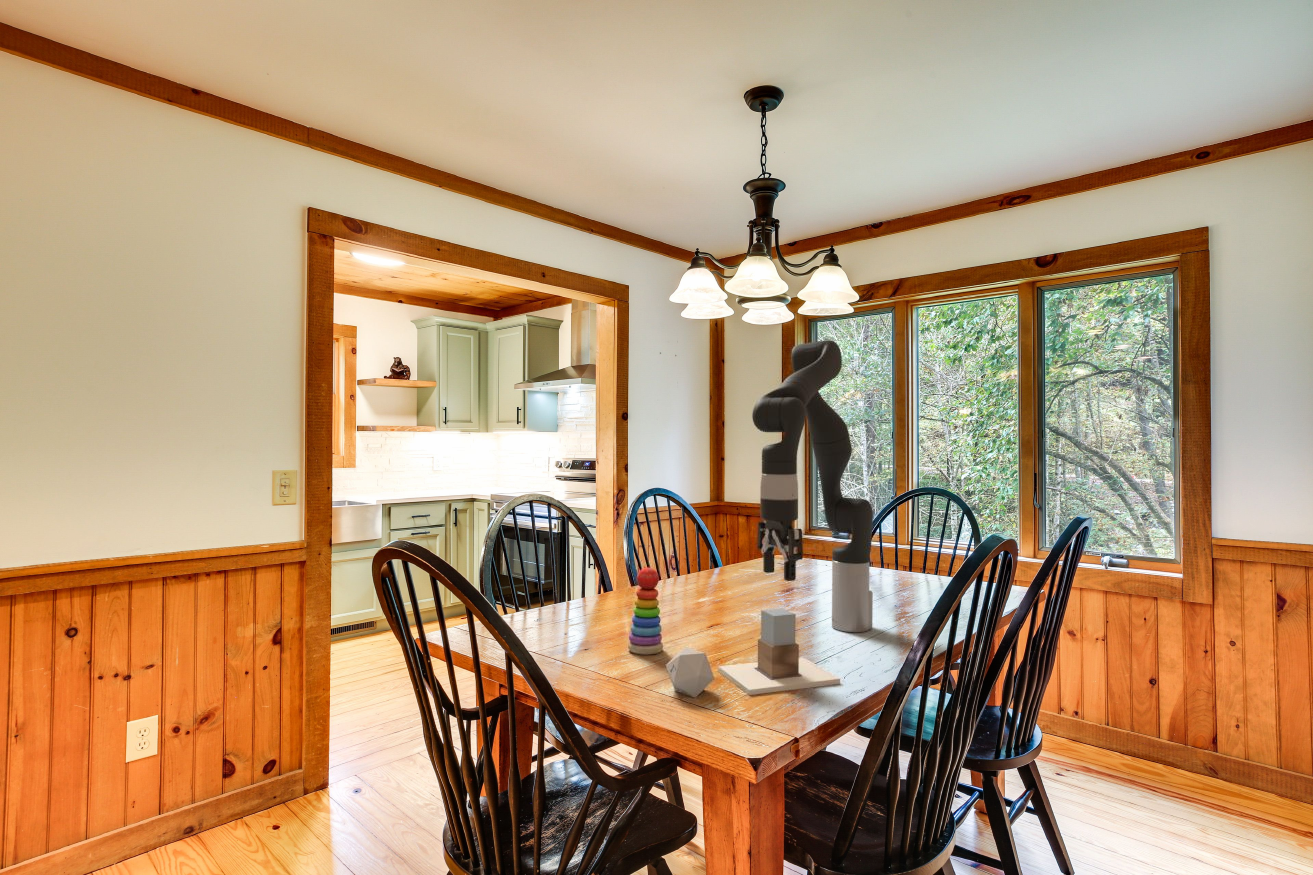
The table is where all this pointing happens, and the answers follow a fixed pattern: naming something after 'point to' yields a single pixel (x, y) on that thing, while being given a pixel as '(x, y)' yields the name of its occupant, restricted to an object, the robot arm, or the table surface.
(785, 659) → the walnut block
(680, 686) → the die
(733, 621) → the table surface
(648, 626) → the stacking toy
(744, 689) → the cream board
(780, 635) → the slate block
